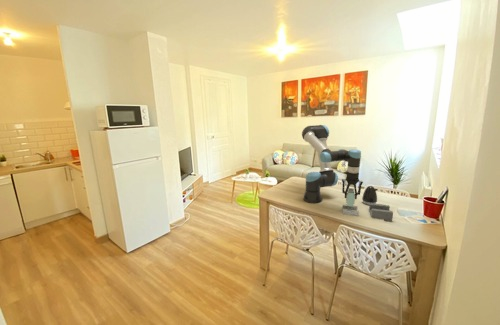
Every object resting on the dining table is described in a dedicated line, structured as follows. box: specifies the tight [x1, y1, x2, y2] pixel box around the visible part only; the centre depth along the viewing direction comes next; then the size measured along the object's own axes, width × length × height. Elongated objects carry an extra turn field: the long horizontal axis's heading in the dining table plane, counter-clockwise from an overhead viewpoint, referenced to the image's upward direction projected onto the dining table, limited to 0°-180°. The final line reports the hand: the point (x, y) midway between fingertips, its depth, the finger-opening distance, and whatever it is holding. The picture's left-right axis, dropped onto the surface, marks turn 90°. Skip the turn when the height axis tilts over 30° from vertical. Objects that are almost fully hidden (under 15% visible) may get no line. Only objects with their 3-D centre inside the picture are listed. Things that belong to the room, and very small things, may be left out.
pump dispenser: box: [361, 185, 379, 206], centre depth 161 cm, size 10×10×15 cm
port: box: [368, 203, 394, 223], centre depth 144 cm, size 12×12×7 cm
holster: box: [341, 204, 360, 217], centre depth 150 cm, size 10×10×4 cm
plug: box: [346, 187, 355, 206], centre depth 148 cm, size 4×5×12 cm
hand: (350, 202), depth 150 cm, fingers closed on plug, 4 cm apart
